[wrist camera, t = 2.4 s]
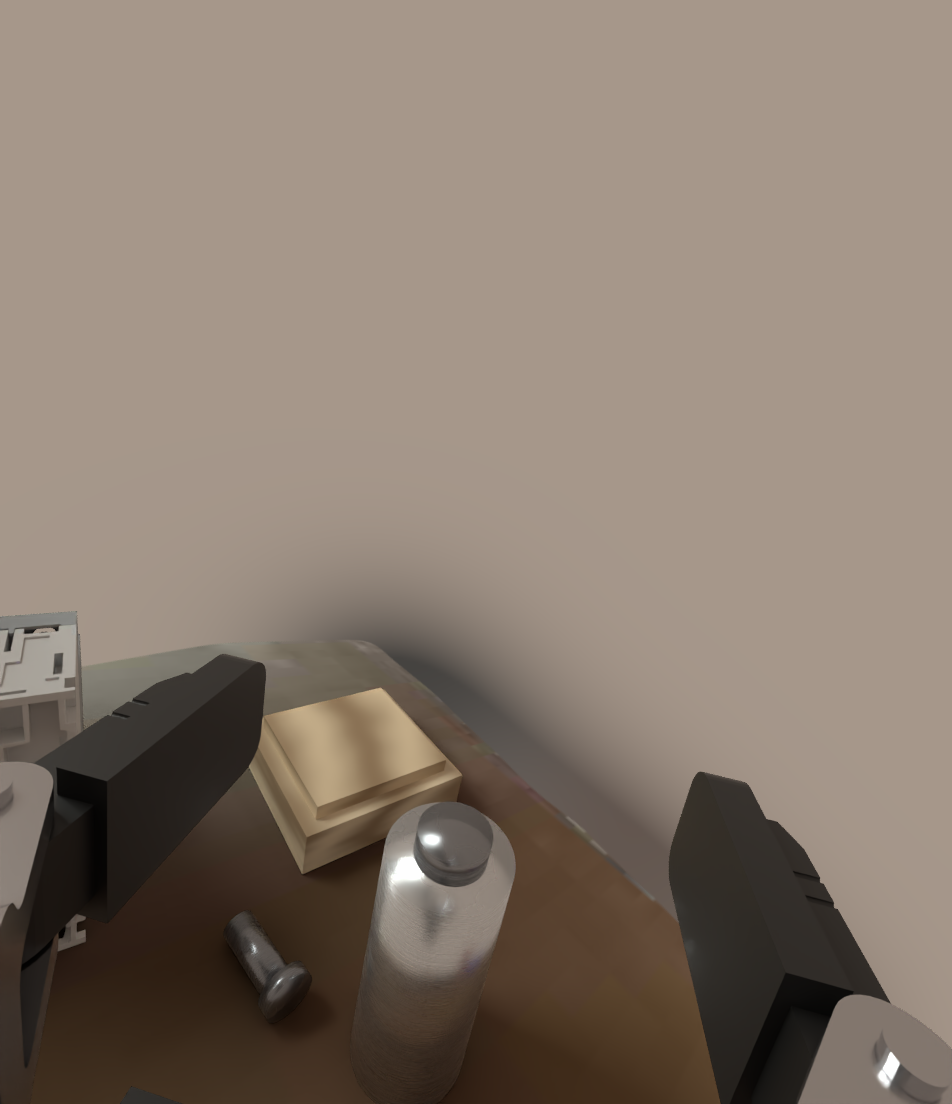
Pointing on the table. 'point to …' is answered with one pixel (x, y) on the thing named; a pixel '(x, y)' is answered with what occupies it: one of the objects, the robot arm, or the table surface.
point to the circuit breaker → (40, 697)
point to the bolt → (267, 967)
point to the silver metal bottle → (428, 950)
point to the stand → (346, 774)
